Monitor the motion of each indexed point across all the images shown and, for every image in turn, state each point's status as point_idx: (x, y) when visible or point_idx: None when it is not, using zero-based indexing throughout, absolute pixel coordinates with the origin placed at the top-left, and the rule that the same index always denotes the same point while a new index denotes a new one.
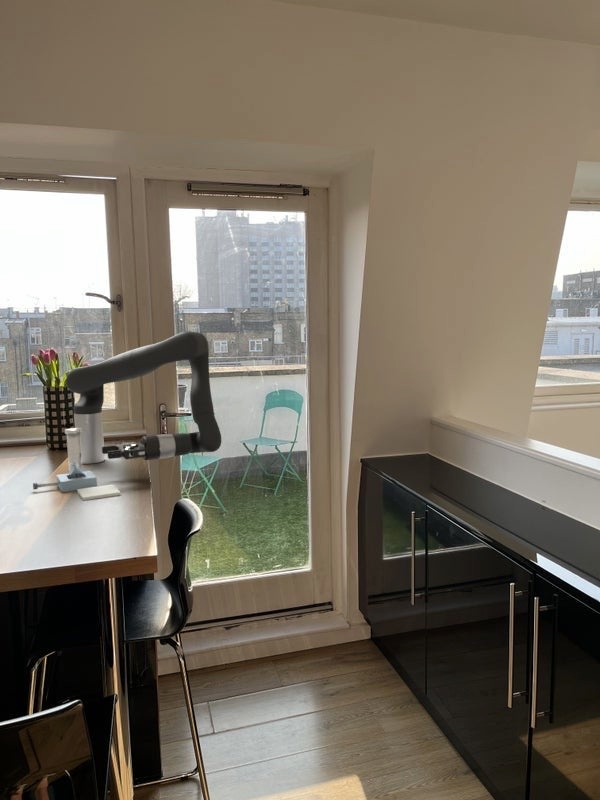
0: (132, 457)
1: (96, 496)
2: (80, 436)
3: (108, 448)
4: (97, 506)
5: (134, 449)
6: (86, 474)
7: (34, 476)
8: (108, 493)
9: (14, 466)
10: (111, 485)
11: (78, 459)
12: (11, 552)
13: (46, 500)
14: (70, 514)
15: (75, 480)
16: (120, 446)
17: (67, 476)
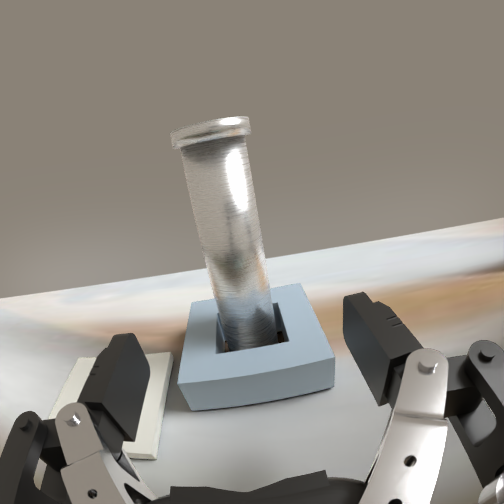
0: (45, 489)
1: (66, 384)
2: (203, 164)
3: (362, 337)
4: (29, 378)
5: (10, 487)
6: (259, 351)
7: (416, 260)
8: (56, 409)
9: (483, 227)
10: (136, 445)
11: (208, 271)
12: (8, 299)
13: (155, 312)
14: (37, 340)
15: (187, 329)
16: (389, 423)
17: (278, 308)
